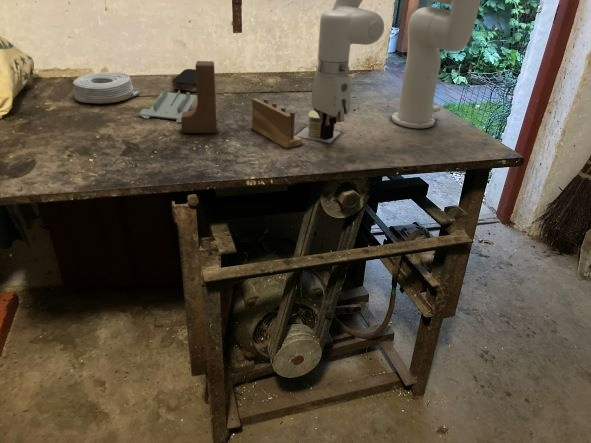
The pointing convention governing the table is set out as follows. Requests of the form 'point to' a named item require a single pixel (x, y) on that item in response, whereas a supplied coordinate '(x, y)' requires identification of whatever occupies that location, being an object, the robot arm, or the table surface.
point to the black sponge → (186, 81)
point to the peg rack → (274, 123)
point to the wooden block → (202, 102)
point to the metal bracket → (169, 106)
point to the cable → (104, 88)
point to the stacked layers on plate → (315, 129)
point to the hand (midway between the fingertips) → (326, 137)
